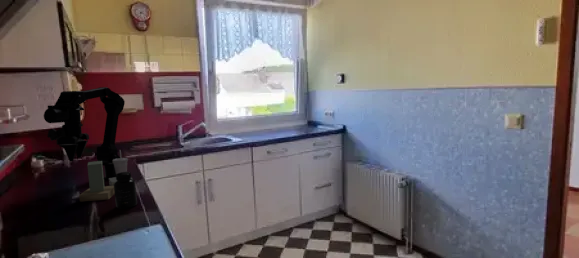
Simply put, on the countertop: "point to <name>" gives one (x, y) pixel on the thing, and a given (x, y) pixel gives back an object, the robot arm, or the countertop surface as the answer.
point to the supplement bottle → (125, 191)
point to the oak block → (97, 194)
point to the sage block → (96, 176)
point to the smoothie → (120, 164)
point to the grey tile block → (113, 181)
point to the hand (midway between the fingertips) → (75, 159)
